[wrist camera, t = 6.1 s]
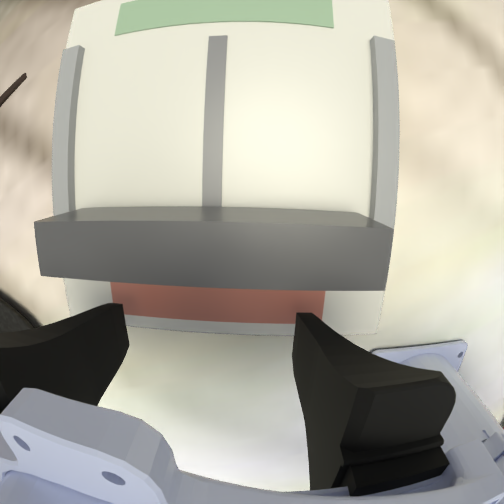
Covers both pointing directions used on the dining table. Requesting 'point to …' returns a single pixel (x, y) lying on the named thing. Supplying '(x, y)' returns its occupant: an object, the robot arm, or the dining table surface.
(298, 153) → the panel
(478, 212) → the dining table surface
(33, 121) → the dining table surface
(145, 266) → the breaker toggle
